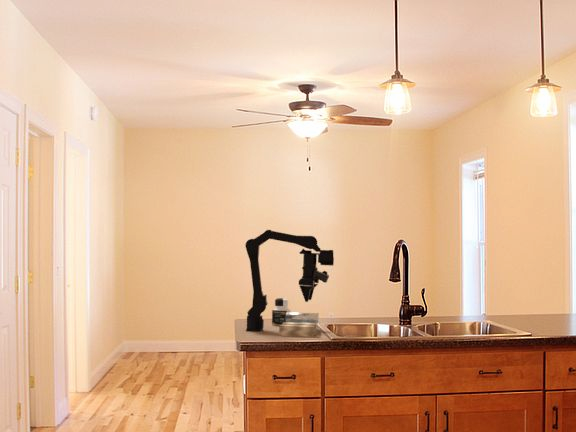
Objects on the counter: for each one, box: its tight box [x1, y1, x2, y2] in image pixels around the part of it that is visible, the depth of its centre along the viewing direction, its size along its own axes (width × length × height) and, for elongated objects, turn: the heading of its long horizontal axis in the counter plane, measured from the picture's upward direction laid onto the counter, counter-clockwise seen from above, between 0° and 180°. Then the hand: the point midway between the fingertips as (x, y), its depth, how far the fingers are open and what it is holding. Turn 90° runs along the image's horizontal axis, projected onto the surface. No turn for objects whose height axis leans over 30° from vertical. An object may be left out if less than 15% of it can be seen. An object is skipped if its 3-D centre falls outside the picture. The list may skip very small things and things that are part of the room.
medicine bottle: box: [271, 297, 292, 326], centre depth 316 cm, size 7×7×12 cm
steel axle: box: [286, 312, 320, 324], centre depth 298 cm, size 14×4×4 cm, turn 81°
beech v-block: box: [278, 322, 317, 338], centre depth 286 cm, size 14×11×4 cm
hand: (308, 300), depth 295 cm, fingers open, 9 cm apart
